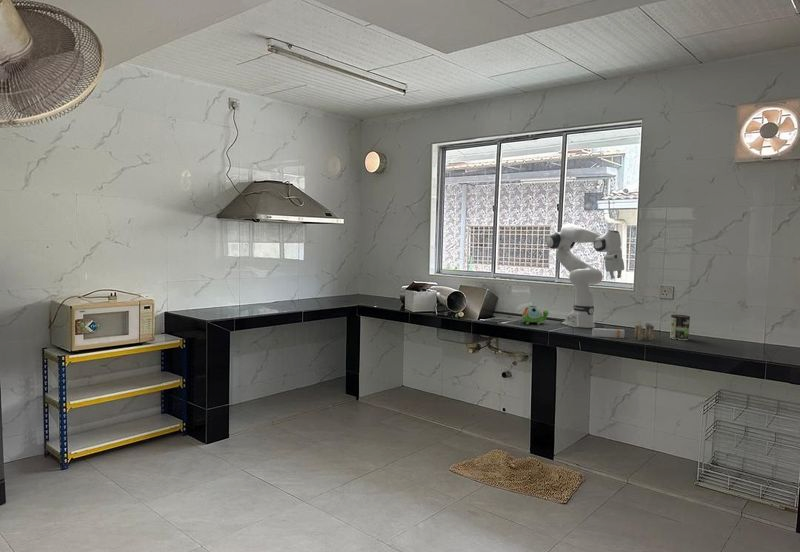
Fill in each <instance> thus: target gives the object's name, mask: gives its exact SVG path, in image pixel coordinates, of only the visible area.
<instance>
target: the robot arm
mask: <svg viewBox="0 0 800 552" xmlns="http://www.w3.org/2000/svg"><path fill="white" fill-rule="evenodd" d="M577 243H578V244H579V243H580V244H585V243H586V244H588V243H593V248H594V250H595V251H596V252H598V253H603V252H604V253H606V254H605V255H603V260H604V268H605V271H606V272H609V276H610V280H614V279H615V275H614V273H615V272H617V275H616V278H617V279H621V277H622V271H624V270H625V261H624V259H623V253H622V238H621V233H620V232H619V231H618V230H606V232H605V233H604V234H602V233H599V232H595V231H593V230H590V229H587V228H584V227H582V226H579V225H577V224H573V223H565V224H563V225H562V227H561V229H560V231H558V232H554V233H551V234H549V235H548V236H547V237H546V244H547V247H548V248H549V249H552V250H556V251H555V257H556V259H557V260H558V262H559V263H560V265H562V266H563V267H564V268H565V269H566V271H568V273H569V275H568V278H569V281H570V283H571V284H572V285H573V287H574V290H575V294H576V295H575V297H576V298H575V299H576V300H575V304H574V305H573V309H572V310H571V311H570V312H569V313H568V314H566V316H565V320H564V321H562V322H561V324H562V325H564V326H565V325H566V326H569V327H572V328H585V329H586V328H589V329H591V328H596V327H595V325H596V324H595V321H594V311H595V306H594V297H595V295H594V293H593V292H592V291H591V288H590V286H591V285H592V286H594V285H597V284H600V283H601V282H602V281H603V278H604V277H603V273H602V271H601V270H599V269H596V268H594V267H592V266H591V265H589V263H586V262H584V261H582V260H581V259H580V257H579V256H577V255H576V253H574V252H573V251H572V249H573V248H574V246H575V244H577Z"/></svg>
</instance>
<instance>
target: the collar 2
mask: <svg viewBox="0 0 800 552" xmlns="http://www.w3.org/2000/svg"><path fill="white" fill-rule="evenodd" d="M654 331H655V326H654V325H652V324H651V323H649V322H648V323H647V322H646V323H645V332H644V333H645V335H644V337H645V338H646V339H647V338H648V341H654Z"/></svg>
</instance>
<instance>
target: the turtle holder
mask: <svg viewBox="0 0 800 552" xmlns="http://www.w3.org/2000/svg"><path fill="white" fill-rule="evenodd" d="M549 313H550V312H549V310H548V309H544V310H543V312H542V310H541V309H540V308H539V306H537V305H527V307H525V308H524V310H523V312H522V319H521V320H522V321H523V322H524V323H525V325H530V323H536V325H541V322H545V321H546V320H547V318H548V315H549Z"/></svg>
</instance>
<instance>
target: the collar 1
mask: <svg viewBox="0 0 800 552" xmlns="http://www.w3.org/2000/svg"><path fill="white" fill-rule="evenodd" d="M634 326H635V327H634V337H635V338H637V340H639V341H643V336H644V335H643V333H644V325H643V324H641V323H640V322H635V325H634Z"/></svg>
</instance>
